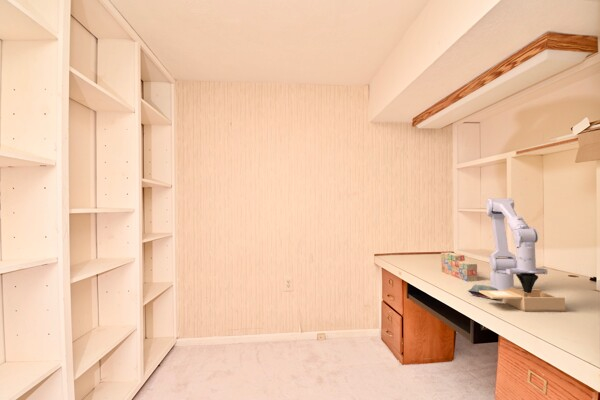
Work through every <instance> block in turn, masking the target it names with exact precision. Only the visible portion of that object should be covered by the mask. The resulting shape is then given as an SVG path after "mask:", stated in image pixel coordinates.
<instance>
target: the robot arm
mask: <svg viewBox="0 0 600 400" xmlns="http://www.w3.org/2000/svg"><path fill="white" fill-rule="evenodd" d="M485 209H486V214H487V216H488V217H489V218H490V219H491V225H492V232H493V233H492V234H493V238H494V239H493V240H494V247H495V248H494V249H495V250H494V252H491V254H489V266H490V269H491V272H490V274H489V281H490V285H489V286H491V287H494V288H496V289H498V290H503V289H510V287H514V288H515V284H514V283H515V278H514V275H515V276H516V277H517V279H518V280H519V282H520V284H521V286H522V289H523V290H524V292H527V293H531V291H532V289H534V288H533V287H534V285H535V283H536V282H537V280H538V279H539V275H548V269H546V268H537V263H536V260H537V259H536V243H537V242H538V240H539V234H538V231H537V229H536V228H534V227H531V226H529V225H528V224H527V223H526V221H525V219H524V218H523V217H521V216H519V215H517V212H516V211H515V201H514V200H513V198H511V197H507V198H488V199H487V201H486V203H485ZM505 218H506V219H507V223H506V224H507V225H508V227H509V228H510V230H511V232H512V237H513V240H514V246H515V247H516V255H515V254H513V253H512V252H510V251H509V245H508V238H507V232H506V225H505Z"/></svg>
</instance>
